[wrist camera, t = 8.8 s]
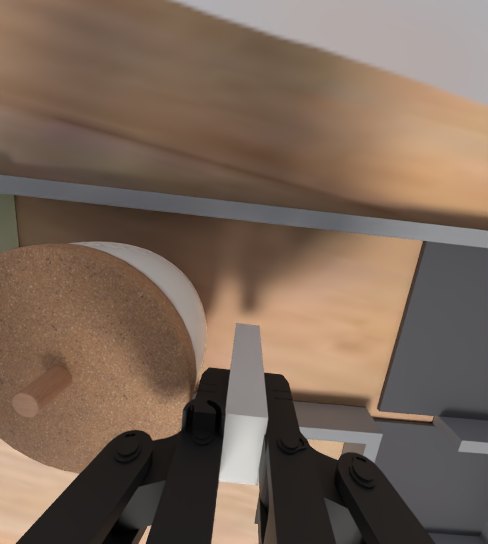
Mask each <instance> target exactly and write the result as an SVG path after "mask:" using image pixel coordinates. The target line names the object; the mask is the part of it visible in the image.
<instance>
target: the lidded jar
mask: <svg viewBox="0 0 488 544" xmlns="http://www.w3.org/2000/svg"><path fill="white" fill-rule="evenodd" d="M206 341H207V325H206V317H205V313H204V308H203V305H202V303H201V300H200V298H199V296H198V293H197V291H196V290H195V288H194V286H193V285H192V283H191V282H190V280H189V279H188V278H187V277H186V276H185V274H184V273H183V272H182V271H181V270H179V269H178V268H177V267H176V266H175V265H174V264H172V263H171V262H169V261H168V260H166V259H165V258H163V257H162V256H160V255H158V254H156V253H154V252H152V251H150V250H147V249H144V248H140V247H137V246H133V245H128V244H122V243H115V242H78V243H53V244H36V245H29V246H24V247H19V248H14V249H9V250H7V251H4V252H2V253H0V438H1V439H2V440H3V441H4V442H6V443H7V444H8V445H10V446H11V447H12V448H14V449H15V450H17V451H19V452H21V453H22V454H24V455H26V456H28V457H29V458H32V459H34V460H36V461H38V462H40V463H42V464H44V465H47V466H51V467H54V468H57V469H60V470H64V471H69V472H74V473H79V474H80V473H81V472H82V471H83V470H84V469H85V468H86V467H87V466H88V465H89V463H90V462H91V461H92V460H93V459H94V458H95V457H96V456H97V455H98V454H99V453H100V452H101V450H102V449H103V448H104V447H105V446H106V445H107V444H108V443H109V442H110V441H111V440H112V439H114V438H115V437H116V436H117V435H120V434H122V433H124V432H126V431H131V430H140V431H144V432H146V433H147V434H149V435H150V436H151V438H152V440H158V439H163V438H167V437H170V436H173V435H175V434H177V433H178V432H179V431H180V429H181V427H182V412H183V409H184V407H185V405H186V404H187V403H188V402H190V401H191V400H192V399H193V395H194V392H195V387H196V384H197V382H198V379H199V376H200V372H201V369H202V365H203V361H204V357H205V352H206Z"/></svg>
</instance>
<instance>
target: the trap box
mask: <svg viewBox="0 0 488 544" xmlns="http://www.w3.org/2000/svg"><path fill="white" fill-rule="evenodd" d="M14 195H20V196H29V197H38V198H47V199H56V200H65V201H74V202H83V203H92V204H100V205H109V206H118V207H127V208H136V209H145V210H154V211H163V212H172V213H181V214H190V215H198V216H207V217H216V218H225V219H234V220H243V221H252V222H261V223H270V224H279V225H287V226H296V227H305V228H314V229H323V230H332V231H341V232H350V233H359V234H368V235H377V236H385V237H394V238H403V239H412V240H421V241H424V242H423V245H422V249H421V253H420V256H419V260H418V264H417V267H416V271H415V274H414V278H413V282H412V285H411V289H410V292H409V296H408V300H407V303H406V307H405V310H404V314H403V318H402V321H401V325H400V328H399V332H398V336H397V339H396V343H395V346H394V350H393V354H392V357H391V361H390V364H389V368H388V372H387V375H386V379H385V383H384V386H383V390H382V393H381V397H380V401H379V404H378V408H377V409H378V410H379V411H382V412H394V413H405V414H417V415H429V416H434V419H433V422H432V423H422V422H411V421H399V420H387V419H376V418H372V416H371V415H370V413H369V412H368V410H367V409H366V407H356V406H344V405H333V404H321V403H310V402H298V401H293V403H294V407H295V412H296V416H297V420H298V424H299V428H300V432H301V433H302V434H303V436H304V437H305V438H306V439H312V440H324V441H336V442H345V443H344V447H343V451H342V454H344V453H347V452H354V453H358V454H360V455H363V456H365V457H367V458H368V459H369V460H371V461H372V462H374V463H375V464H376V465H377V466H378V468H379V469H380V470H381V471H382V472H383V473H384V475H385V476H386V477H387V479H388V480H389V482H390V483H391V484H392V486H393V487H394V488H395V490H396V491H397V492H398V494H399V495H400V496H401V498H402V499H403V500H404V502H405V503H406V504H407V506H408V507H409V508H410V510H411V511H412V512H413V514H414V515H415V516H416V518H417V519H418V521H419V522H420V523H421V525H422V526H423V527H424V529H425V530H426V531H427V533H428V534H429V535H430V537H431V538H432V539H433V541H434V542H435V543H436V544H488V231H487V230H478V229H469V228H461V227H452V226H443V225H434V224H426V223H417V222H408V221H400V220H391V219H382V218H373V217H365V216H356V215H347V214H339V213H330V212H321V211H313V210H304V209H295V208H286V207H278V206H269V205H260V204H252V203H243V202H234V201H225V200H217V199H208V198H199V197H191V196H182V195H173V194H164V193H156V192H147V191H138V190H130V189H121V188H112V187H104V186H95V185H86V184H77V183H69V182H60V181H51V180H43V179H34V178H25V177H16V176H8V175H0V253H2V252H4V251H7V250H9V249H14V248H19V241H18V231H17V221H16V211H15V201H14ZM196 394H197V393H195V392H194V395H193V399H195V397H196ZM181 428H182V427H181Z"/></svg>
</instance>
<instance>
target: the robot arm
mask: <svg viewBox="0 0 488 544" xmlns="http://www.w3.org/2000/svg"><path fill="white" fill-rule="evenodd" d="M292 400H293V399H292V395H291V391H290V387H289V383H288V381H287V380H286V379H285V378H284V376H283V375H280V374H271V373H264V369H263V359H262V348H261V338H260V328H259V326H258V325H249V324H240V323H236V328H235V336H234V344H233V353H232V361H231V369H230V370H227V369H218V368H208V369H207V370H206V371H205V372H204V373H203V374H202V377H201V380H200V384H199V387H198V391H197V394H196V397H195V399H192V400H191V401H190V402H188V403H187V404H186V405H185V407H184V409H183V412H182V428H181V431H180V432H178V433H177V434H175V435H173V436H170V437H167V438H163V439H158V440H152V438H151V436H150V435H149V434H147V433H146V432H144V431H140V430H131V431H126V432H124V433H122V434H120V435H117V436H116V437H115V438H114V439H112V440H111V441H110V442H109V443H108V444H107V445H106V446H105V447H104V448H103V449H102V450H101V452H100V453H99V454H98V455H97V456H96V457H95V458H94V459H93V460H92V461H91V462H90V463H89V465H88V466H87V467H86V468H85V469H84V470H83V471H82V472H81V473H80V474H79V475H78V477H77V478H76V479H75V480H74V481H73V482H72V483H71V484H70V485H69V486H68V487H67V488H66V490H65V491H64V492H63V493H62V494H61V495H60V496H59V497H58V498H57V499H56V500H55V501H54V503H53V504H52V505H51V506H50V507H49V508H48V509H47V510H46V511H45V512H44V513H43V515H42V516H41V517H40V518H39V519H38V520H37V521H36V522H35V523H34V524H33V525H32V526H31V528H30V529H29V530H28V531H27V532H26V533H25V534H24V535H23V536H22V537H21V538H20V539H19V541H18V542H17V543H16V544H138V543H139V541H140V540H141V538H142V536H143V534H144V532H145V530H146V528H147V526H150V525H152V526H151V529H150V532H149V535H148V538H147V541H146V544H211V541H212V532H213V524H214V515H215V507H216V498H217V490H218V483H219V481H220V482H230V483H239V484H249V485H258V479H259V490H260V492H259V498H258V504H257V510H256V517H255V524H258V536H259V544H436V543H435V542H434V541H433V539H432V538H431V537H430V535H429V534H428V533H427V531H426V530H425V529H424V527H423V526H422V525H421V523H420V522H419V521H418V519H417V518H416V516H415V515H414V514H413V512H412V511H411V510H410V508H409V507H408V506H407V504H406V503H405V502H404V500H403V499H402V498H401V496H400V495H399V494H398V492H397V491H396V490H395V488H394V487H393V486H392V484H391V483H390V482H389V480H388V479H387V477H386V476H385V475H384V473H383V472H382V471H381V470H380V469H379V468H378V466H377V465H376V464H375V463H374V462H372V461H371V460H369V459H368V458H367V457H365V456H363V455H360V454H358V453H354V452H347V453H344V454H342V455H341V456H340V458H339V460H336V459H333V458H331V457H328V456H326V455H324V454H322V453H320V452H318V451H316V450H315V449H313V448H312V447H311V446H310V445H309V443H308V441H307V439H306V438H305V437H304V436H303V434H302V433H301V432H300V428H299V424H298V420H297V416H296V412H295V407H294V403H293V401H292Z"/></svg>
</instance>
